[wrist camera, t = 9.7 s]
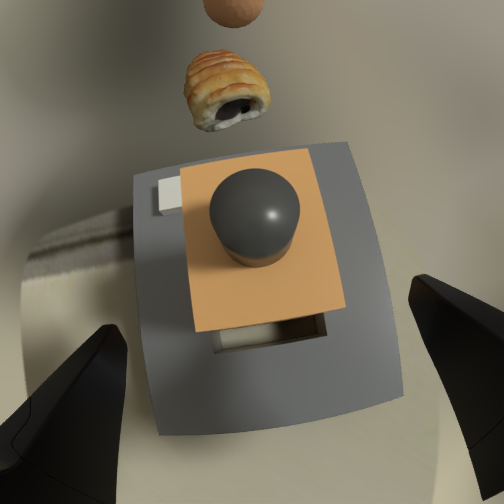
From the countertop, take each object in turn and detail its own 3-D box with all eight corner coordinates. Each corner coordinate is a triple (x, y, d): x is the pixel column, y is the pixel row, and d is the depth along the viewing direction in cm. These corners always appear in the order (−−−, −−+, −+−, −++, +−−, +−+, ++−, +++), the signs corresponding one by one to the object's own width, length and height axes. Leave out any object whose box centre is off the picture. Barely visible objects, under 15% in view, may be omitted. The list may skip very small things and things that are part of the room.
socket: (384, 386, 16) (409, 398, 13) (174, 420, 16) (154, 439, 13) (337, 164, 20) (349, 134, 17) (149, 194, 20) (129, 169, 17)
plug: (296, 318, 18) (367, 302, 5) (238, 327, 18) (177, 333, 5) (284, 250, 19) (314, 114, 6) (228, 259, 19) (163, 137, 6)
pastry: (177, 75, 24) (168, 46, 20) (243, 56, 24) (240, 27, 20) (199, 141, 22) (189, 110, 18) (280, 117, 22) (282, 85, 18)
